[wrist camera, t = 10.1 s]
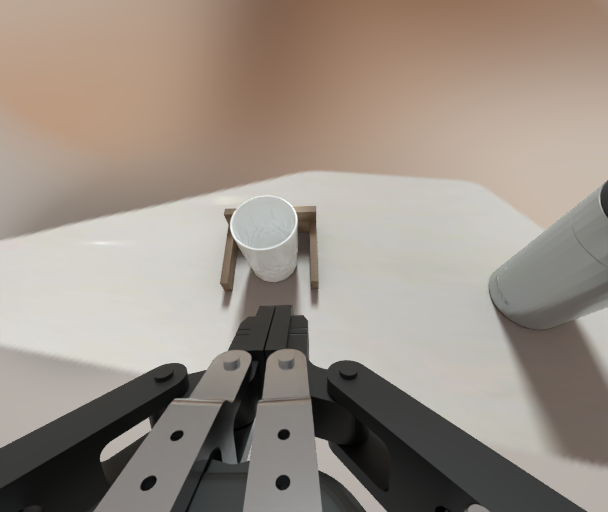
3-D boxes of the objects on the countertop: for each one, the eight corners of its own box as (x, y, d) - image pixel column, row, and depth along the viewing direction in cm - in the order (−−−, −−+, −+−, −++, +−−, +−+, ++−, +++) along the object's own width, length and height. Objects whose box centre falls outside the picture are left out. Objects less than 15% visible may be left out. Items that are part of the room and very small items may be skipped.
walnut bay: (315, 226, 44) (315, 206, 40) (318, 288, 39) (318, 272, 35) (233, 229, 45) (224, 208, 40) (225, 290, 39) (214, 275, 35)
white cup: (253, 293, 39) (236, 258, 30) (243, 247, 43) (224, 204, 34) (308, 277, 40) (305, 239, 31) (293, 233, 44) (287, 188, 35)
